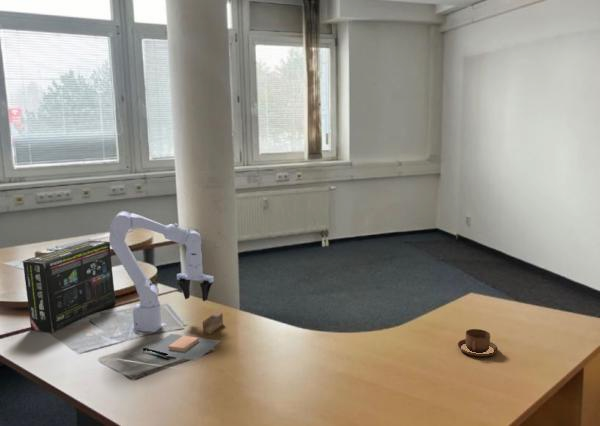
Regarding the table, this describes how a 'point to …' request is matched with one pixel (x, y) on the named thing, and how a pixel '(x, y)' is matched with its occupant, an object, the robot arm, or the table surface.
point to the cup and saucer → (477, 342)
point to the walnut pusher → (212, 323)
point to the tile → (183, 343)
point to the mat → (191, 353)
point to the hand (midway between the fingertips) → (196, 299)
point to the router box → (68, 284)
